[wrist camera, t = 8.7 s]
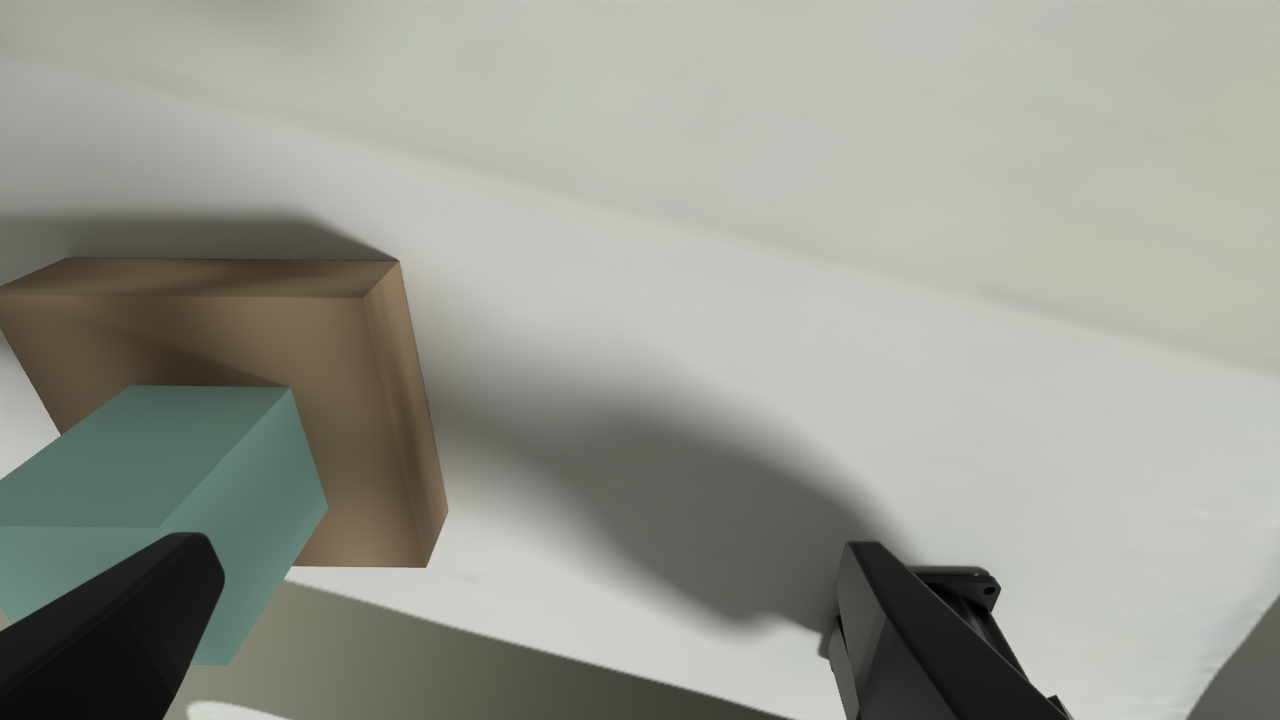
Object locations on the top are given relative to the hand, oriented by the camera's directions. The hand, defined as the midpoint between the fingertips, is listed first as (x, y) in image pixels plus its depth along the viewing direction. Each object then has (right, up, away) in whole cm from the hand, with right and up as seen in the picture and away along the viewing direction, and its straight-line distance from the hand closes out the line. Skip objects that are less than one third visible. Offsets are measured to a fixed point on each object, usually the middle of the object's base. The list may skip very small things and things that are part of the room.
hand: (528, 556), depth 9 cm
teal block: (-12, 0, +12) cm, 17 cm away
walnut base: (-12, +1, +14) cm, 19 cm away
